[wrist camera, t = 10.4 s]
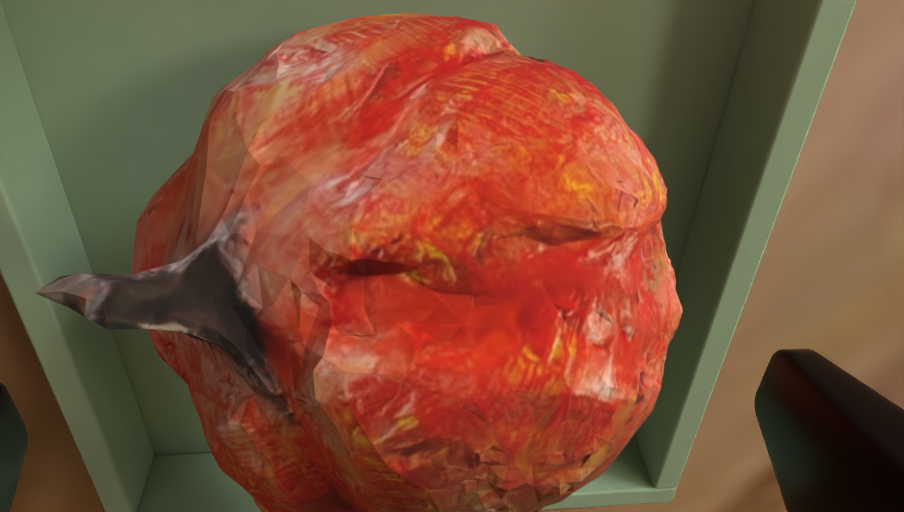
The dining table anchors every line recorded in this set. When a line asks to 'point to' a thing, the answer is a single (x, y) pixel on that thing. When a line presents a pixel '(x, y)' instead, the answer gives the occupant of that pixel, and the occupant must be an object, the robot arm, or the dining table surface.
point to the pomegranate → (405, 273)
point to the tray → (319, 3)
